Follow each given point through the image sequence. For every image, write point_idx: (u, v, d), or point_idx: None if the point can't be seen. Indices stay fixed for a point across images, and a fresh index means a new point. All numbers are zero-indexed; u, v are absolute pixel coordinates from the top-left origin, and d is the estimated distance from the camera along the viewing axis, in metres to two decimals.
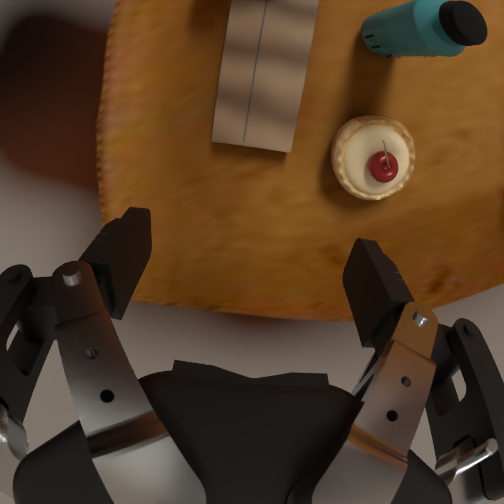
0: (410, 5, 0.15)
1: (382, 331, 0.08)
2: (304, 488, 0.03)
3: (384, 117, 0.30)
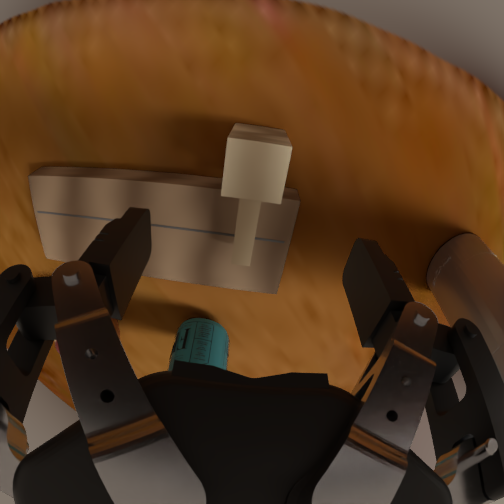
0: None
1: (382, 331, 0.08)
2: (304, 488, 0.03)
3: None
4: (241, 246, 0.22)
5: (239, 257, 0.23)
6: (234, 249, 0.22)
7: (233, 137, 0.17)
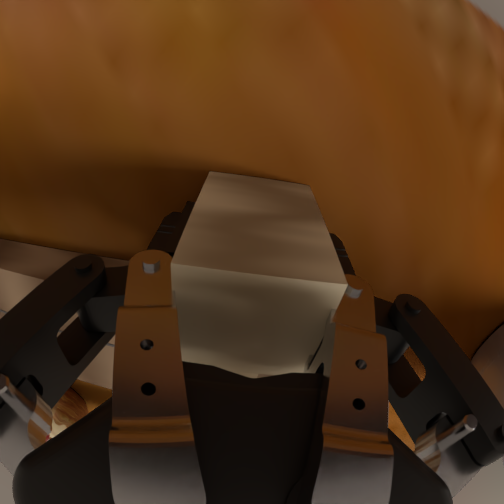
0: None
1: None
2: (304, 488, 0.03)
3: None
4: None
5: None
6: None
7: (187, 259, 0.06)
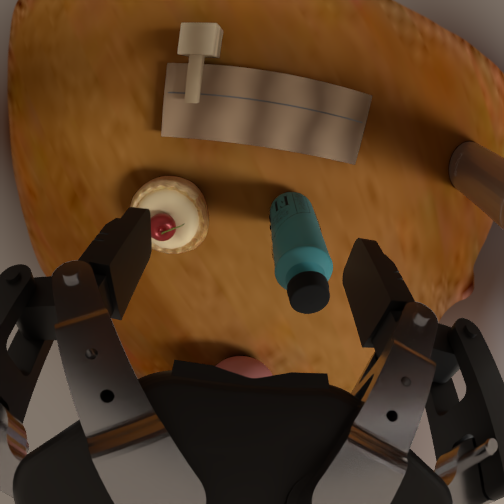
0: (317, 243, 0.30)
1: (382, 331, 0.08)
2: (304, 488, 0.03)
3: (206, 221, 0.40)
4: (190, 88, 0.29)
5: (189, 96, 0.29)
6: (186, 91, 0.29)
7: None
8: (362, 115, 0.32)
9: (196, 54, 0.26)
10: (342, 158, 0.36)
